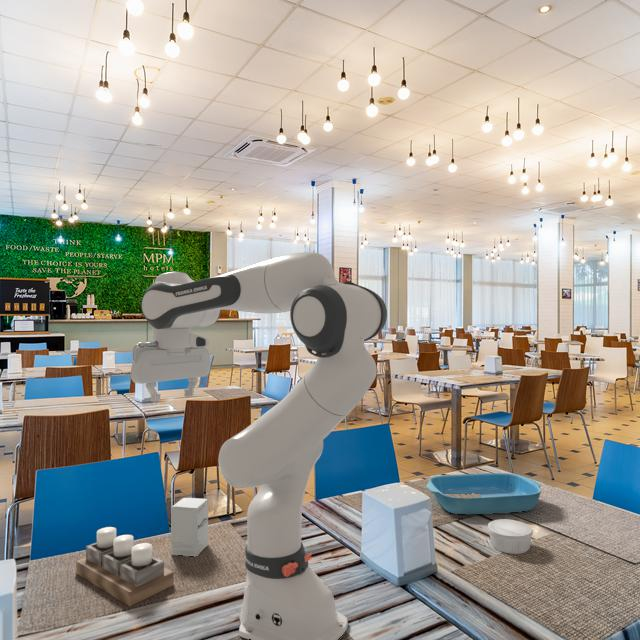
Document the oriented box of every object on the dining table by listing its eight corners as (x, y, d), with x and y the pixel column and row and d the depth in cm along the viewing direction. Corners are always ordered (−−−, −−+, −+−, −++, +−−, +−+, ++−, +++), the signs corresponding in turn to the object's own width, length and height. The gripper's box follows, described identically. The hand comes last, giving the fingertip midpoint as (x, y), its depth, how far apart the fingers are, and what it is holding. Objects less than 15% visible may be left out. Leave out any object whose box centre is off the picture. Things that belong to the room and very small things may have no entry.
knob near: (156, 560, 115) (156, 546, 115) (138, 568, 112) (138, 553, 112) (145, 555, 118) (144, 541, 118) (127, 562, 115) (127, 548, 115)
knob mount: (173, 585, 117) (173, 558, 117) (129, 606, 108) (129, 578, 108) (118, 556, 131) (118, 533, 131) (76, 573, 122) (76, 548, 122)
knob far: (119, 543, 125) (119, 529, 125) (102, 549, 121) (102, 536, 121) (110, 538, 127) (110, 525, 127) (93, 544, 124) (93, 531, 124)
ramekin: (488, 553, 132) (488, 533, 132) (487, 535, 143) (487, 516, 143) (535, 559, 129) (534, 538, 129) (530, 540, 139) (530, 521, 139)
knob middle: (137, 551, 120) (137, 537, 120) (120, 558, 117) (119, 544, 116) (127, 546, 123) (126, 533, 123) (109, 553, 119) (109, 539, 119)
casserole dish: (439, 521, 153) (439, 497, 153) (418, 495, 176) (418, 474, 176) (556, 515, 157) (556, 492, 157) (520, 491, 179) (520, 471, 179)
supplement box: (197, 557, 130) (196, 508, 130) (170, 555, 132) (169, 506, 132) (209, 545, 137) (208, 498, 137) (183, 543, 139) (183, 496, 139)
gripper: (140, 342, 112) (141, 406, 112) (214, 339, 128) (214, 394, 128) (124, 342, 116) (125, 403, 116) (198, 339, 132) (198, 392, 132)
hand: (172, 398), depth 122 cm, fingers open, 8 cm apart
